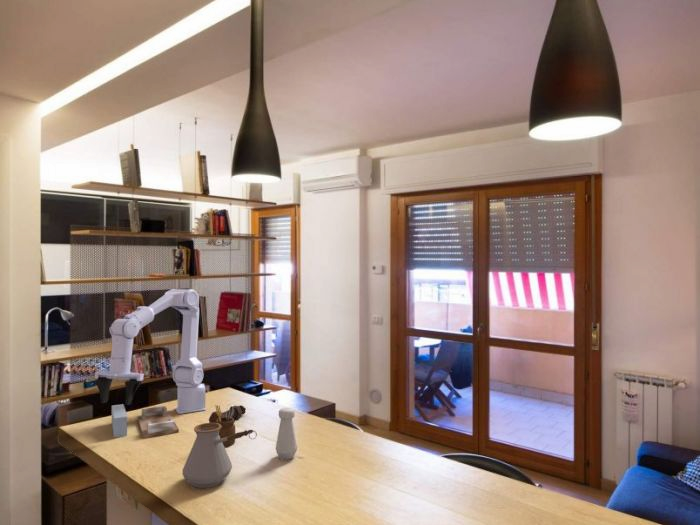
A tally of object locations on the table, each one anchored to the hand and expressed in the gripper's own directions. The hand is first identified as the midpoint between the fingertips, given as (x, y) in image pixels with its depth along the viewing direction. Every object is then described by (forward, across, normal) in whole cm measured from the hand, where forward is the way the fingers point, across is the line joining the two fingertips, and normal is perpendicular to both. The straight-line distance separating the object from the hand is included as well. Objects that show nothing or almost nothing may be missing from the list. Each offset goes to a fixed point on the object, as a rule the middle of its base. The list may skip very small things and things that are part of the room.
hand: (116, 403), depth 139 cm
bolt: (+7, +30, +18) cm, 36 cm away
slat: (+10, -3, +8) cm, 13 cm away
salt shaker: (+9, +55, -9) cm, 57 cm away
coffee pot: (+12, +44, -26) cm, 52 cm away
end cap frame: (+9, +8, +12) cm, 17 cm away
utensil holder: (+9, +35, -1) cm, 36 cm away
